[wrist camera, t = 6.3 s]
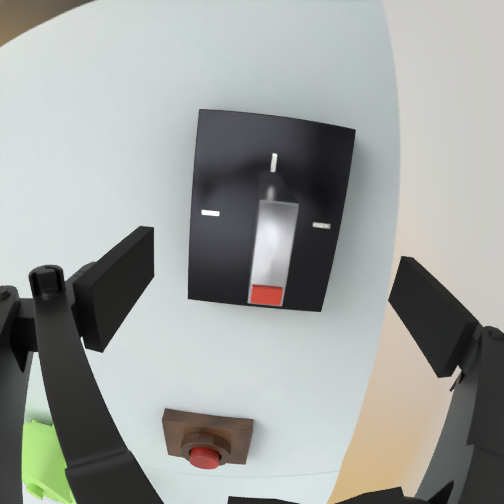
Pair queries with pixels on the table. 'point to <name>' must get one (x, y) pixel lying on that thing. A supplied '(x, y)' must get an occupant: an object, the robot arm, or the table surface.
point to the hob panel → (244, 200)
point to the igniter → (207, 435)
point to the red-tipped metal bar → (271, 243)
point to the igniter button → (204, 458)
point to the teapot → (44, 463)
